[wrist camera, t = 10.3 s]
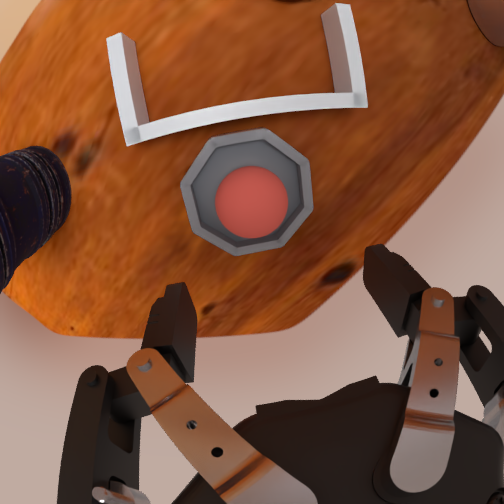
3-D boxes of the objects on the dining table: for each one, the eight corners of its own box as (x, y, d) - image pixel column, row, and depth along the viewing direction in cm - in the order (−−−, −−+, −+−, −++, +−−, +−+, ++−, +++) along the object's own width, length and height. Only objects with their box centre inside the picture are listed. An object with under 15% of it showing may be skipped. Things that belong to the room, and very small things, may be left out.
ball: (275, 155, 22) (291, 169, 17) (283, 215, 24) (299, 243, 20) (209, 167, 22) (205, 184, 17) (223, 226, 24) (223, 258, 20)
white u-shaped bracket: (333, 15, 16) (349, 4, 13) (348, 106, 20) (367, 107, 17) (121, 46, 16) (106, 38, 13) (140, 140, 20) (126, 146, 17)
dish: (298, 122, 21) (304, 123, 19) (309, 232, 26) (315, 240, 25) (174, 144, 21) (170, 147, 19) (202, 252, 26) (201, 262, 24)
